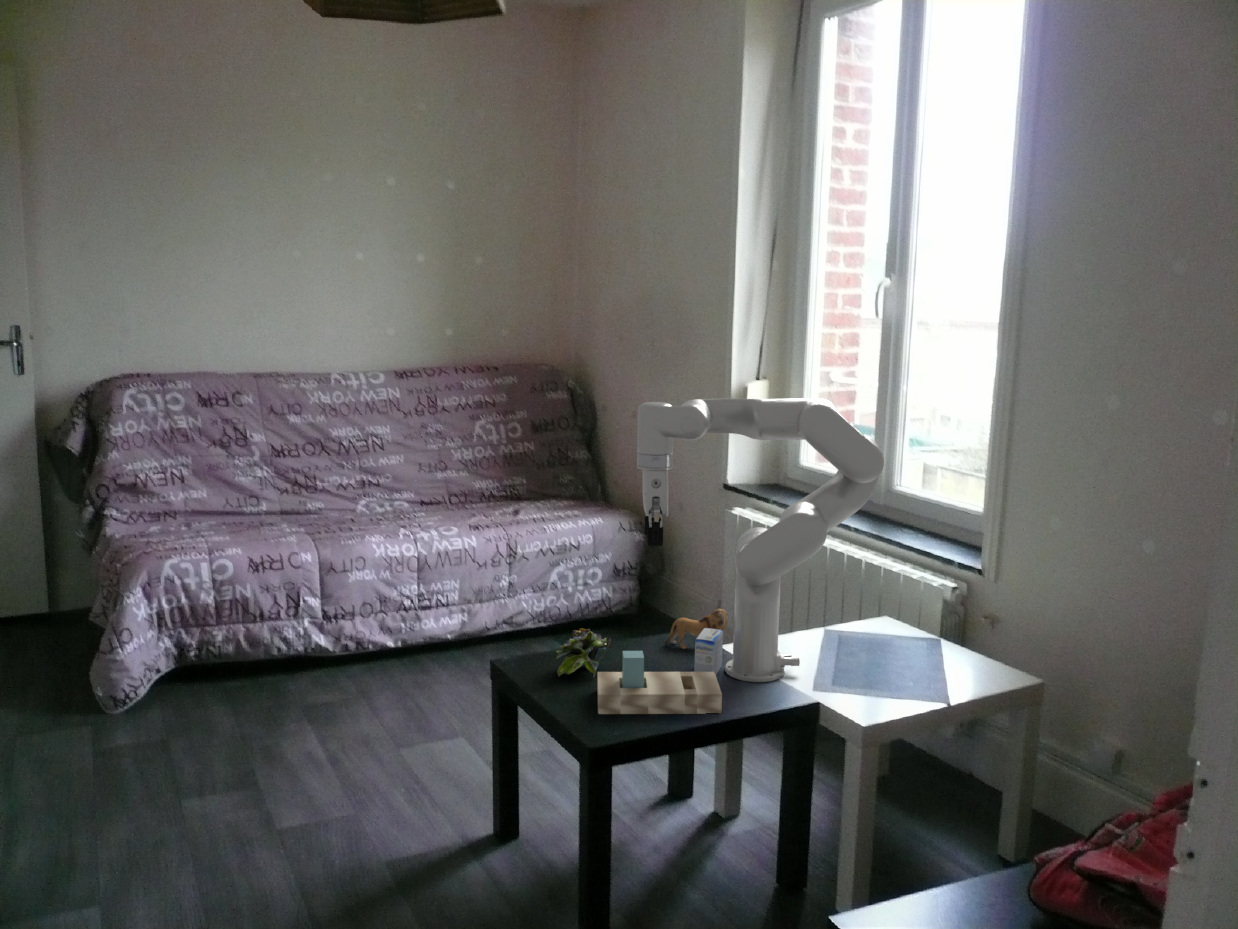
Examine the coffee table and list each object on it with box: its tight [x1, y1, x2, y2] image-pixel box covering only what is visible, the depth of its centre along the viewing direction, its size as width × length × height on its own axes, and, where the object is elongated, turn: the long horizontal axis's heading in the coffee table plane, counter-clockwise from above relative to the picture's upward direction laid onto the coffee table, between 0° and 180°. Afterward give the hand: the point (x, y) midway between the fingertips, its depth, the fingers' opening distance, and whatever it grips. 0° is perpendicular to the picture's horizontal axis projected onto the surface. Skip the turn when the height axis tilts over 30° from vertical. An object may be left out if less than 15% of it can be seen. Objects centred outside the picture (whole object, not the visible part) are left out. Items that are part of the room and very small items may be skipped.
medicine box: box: [693, 628, 724, 676], centre depth 230 cm, size 8×4×9 cm, turn 162°
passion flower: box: [556, 628, 612, 679], centre depth 229 cm, size 11×11×12 cm
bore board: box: [596, 671, 723, 715], centre depth 214 cm, size 24×12×4 cm, turn 92°
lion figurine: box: [662, 608, 729, 650], centre depth 246 cm, size 15×5×9 cm, turn 90°
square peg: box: [621, 650, 645, 688], centre depth 213 cm, size 4×4×10 cm
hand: (653, 539), depth 229 cm, fingers open, 9 cm apart
